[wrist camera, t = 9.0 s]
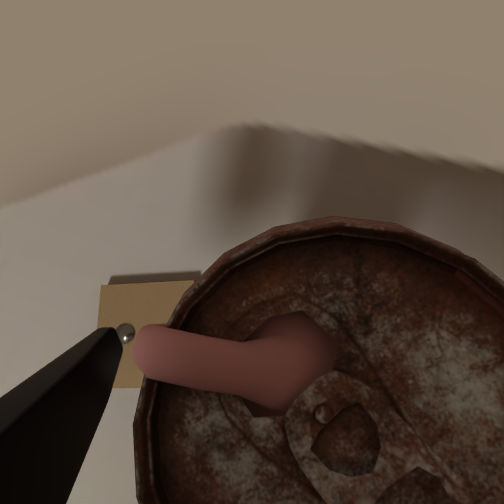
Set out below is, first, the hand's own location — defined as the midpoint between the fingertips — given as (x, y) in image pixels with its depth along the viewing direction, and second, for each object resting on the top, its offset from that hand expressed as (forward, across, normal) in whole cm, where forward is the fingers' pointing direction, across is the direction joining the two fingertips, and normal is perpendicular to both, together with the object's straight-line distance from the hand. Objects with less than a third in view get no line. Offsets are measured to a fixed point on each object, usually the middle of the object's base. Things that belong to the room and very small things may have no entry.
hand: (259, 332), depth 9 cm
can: (+6, -2, +6) cm, 9 cm away
